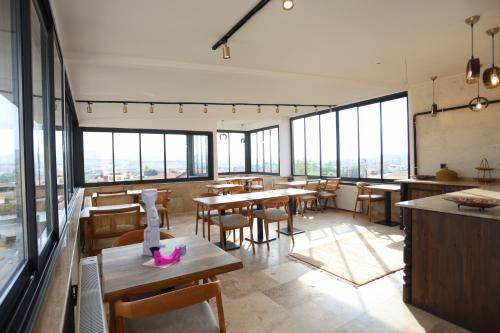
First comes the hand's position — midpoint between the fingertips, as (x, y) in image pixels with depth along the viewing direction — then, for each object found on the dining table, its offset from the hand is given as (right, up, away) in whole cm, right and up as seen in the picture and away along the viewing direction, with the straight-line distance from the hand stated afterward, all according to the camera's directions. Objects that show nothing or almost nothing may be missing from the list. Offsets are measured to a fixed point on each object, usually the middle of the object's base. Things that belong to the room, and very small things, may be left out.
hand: (155, 258), depth 175 cm
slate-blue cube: (+13, -1, +14) cm, 19 cm away
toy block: (+9, -2, -3) cm, 10 cm away
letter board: (+5, -2, -2) cm, 5 cm away
